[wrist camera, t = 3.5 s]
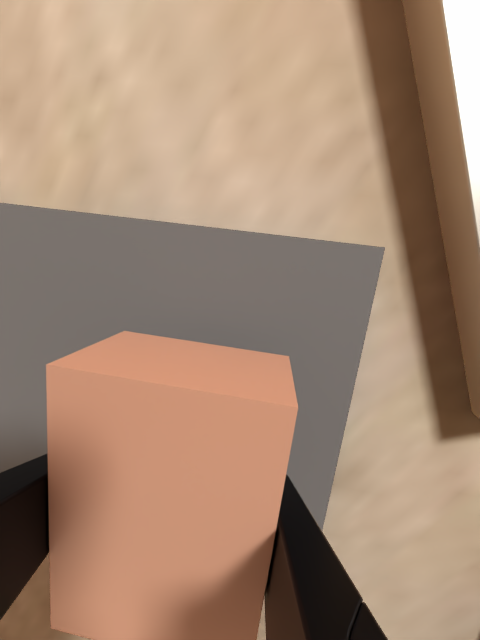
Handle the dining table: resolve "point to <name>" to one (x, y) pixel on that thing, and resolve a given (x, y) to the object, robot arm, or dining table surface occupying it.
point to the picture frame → (453, 150)
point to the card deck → (164, 486)
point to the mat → (182, 314)
